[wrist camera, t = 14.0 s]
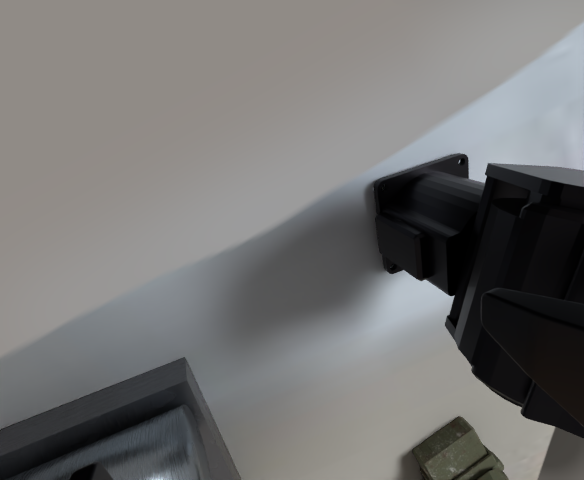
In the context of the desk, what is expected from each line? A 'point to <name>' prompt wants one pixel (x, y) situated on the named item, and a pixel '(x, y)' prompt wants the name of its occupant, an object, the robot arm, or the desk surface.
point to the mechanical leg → (457, 455)
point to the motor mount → (123, 434)
